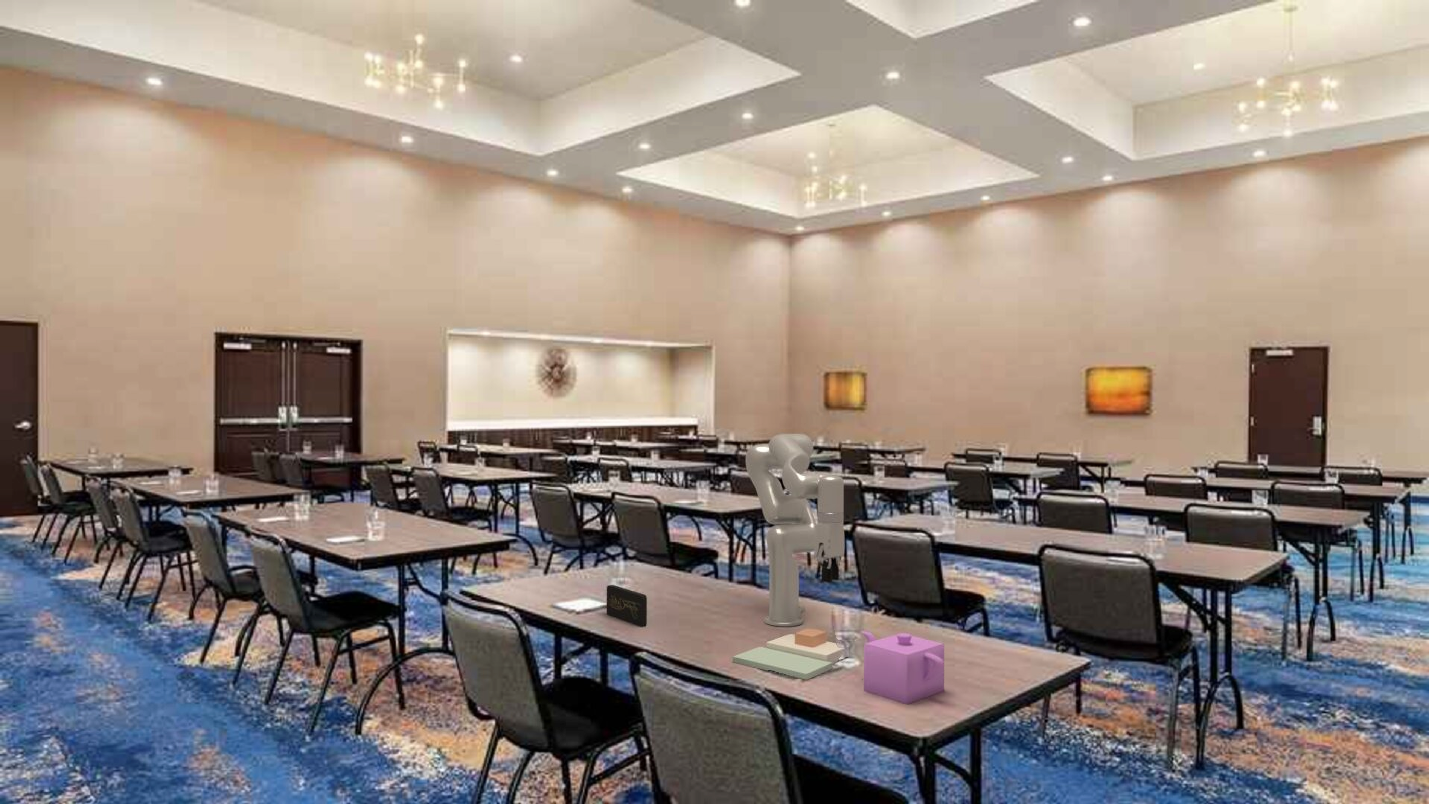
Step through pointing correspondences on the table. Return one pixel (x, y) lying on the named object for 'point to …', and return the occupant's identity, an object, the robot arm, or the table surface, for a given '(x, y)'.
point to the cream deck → (807, 649)
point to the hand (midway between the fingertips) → (830, 580)
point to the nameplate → (627, 605)
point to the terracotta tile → (810, 637)
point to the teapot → (903, 667)
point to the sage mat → (783, 662)
